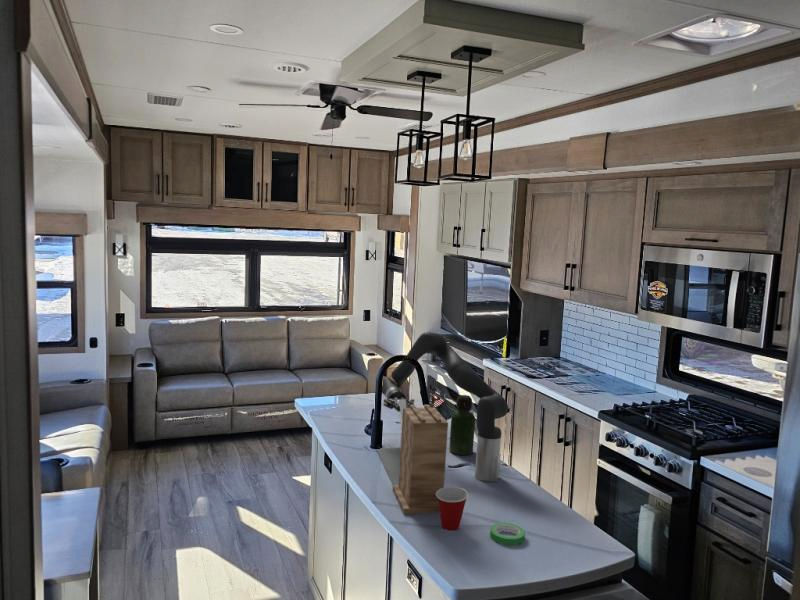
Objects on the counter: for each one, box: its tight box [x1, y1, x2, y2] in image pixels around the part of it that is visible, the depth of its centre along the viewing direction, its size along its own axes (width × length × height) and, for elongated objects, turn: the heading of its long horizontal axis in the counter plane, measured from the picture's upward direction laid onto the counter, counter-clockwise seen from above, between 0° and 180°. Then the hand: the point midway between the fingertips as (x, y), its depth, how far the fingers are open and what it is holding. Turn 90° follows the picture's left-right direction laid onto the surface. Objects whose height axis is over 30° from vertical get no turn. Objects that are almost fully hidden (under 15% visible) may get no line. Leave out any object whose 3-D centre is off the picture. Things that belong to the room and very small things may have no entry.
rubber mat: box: [376, 447, 401, 486], centre depth 270 cm, size 42×14×1 cm, turn 12°
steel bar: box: [397, 399, 407, 430], centre depth 263 cm, size 28×3×3 cm
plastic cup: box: [436, 486, 469, 532], centre depth 219 cm, size 11×11×12 cm
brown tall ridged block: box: [392, 404, 449, 515], centre depth 237 cm, size 20×16×33 cm
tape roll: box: [489, 522, 526, 547], centre depth 215 cm, size 11×11×3 cm
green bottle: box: [448, 394, 476, 456], centre depth 290 cm, size 10×10×25 cm
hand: (403, 409), depth 269 cm, fingers closed on steel bar, 3 cm apart
